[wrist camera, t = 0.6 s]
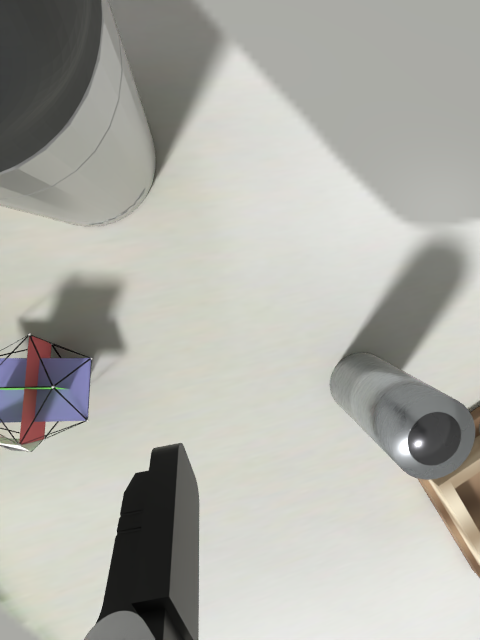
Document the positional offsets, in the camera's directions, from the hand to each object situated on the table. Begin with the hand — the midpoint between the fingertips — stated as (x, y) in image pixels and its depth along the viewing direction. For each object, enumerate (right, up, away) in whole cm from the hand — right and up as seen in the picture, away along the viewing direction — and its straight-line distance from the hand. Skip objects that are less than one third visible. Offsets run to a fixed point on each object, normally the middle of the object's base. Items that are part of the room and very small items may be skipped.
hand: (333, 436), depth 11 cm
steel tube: (+7, -2, +22) cm, 23 cm away
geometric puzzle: (-16, -1, +19) cm, 25 cm away
